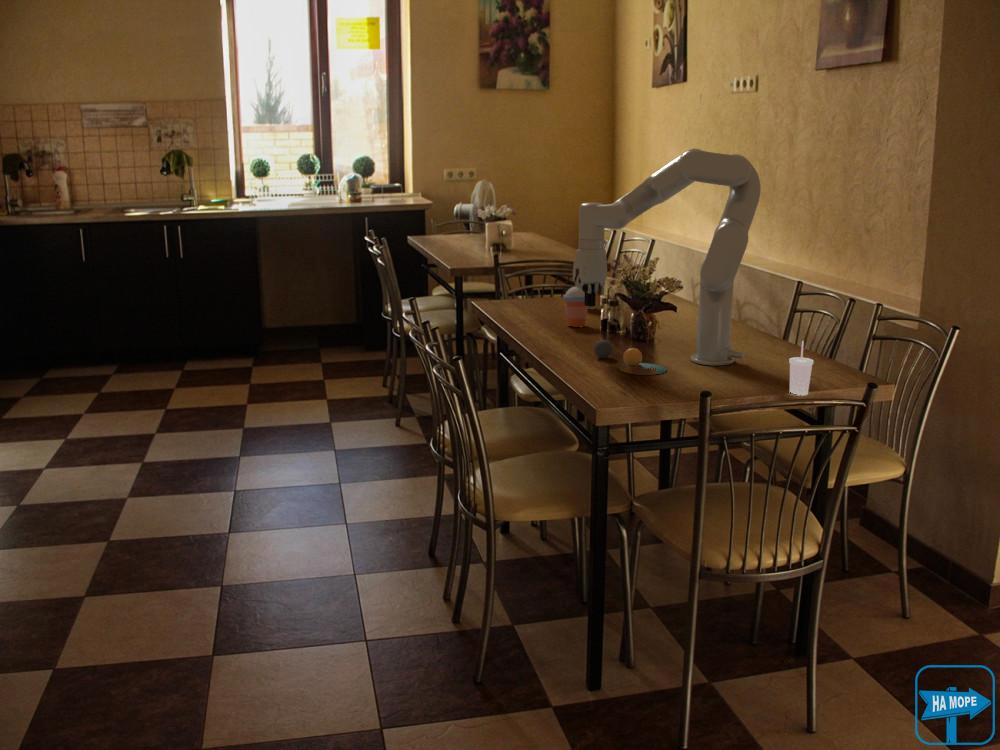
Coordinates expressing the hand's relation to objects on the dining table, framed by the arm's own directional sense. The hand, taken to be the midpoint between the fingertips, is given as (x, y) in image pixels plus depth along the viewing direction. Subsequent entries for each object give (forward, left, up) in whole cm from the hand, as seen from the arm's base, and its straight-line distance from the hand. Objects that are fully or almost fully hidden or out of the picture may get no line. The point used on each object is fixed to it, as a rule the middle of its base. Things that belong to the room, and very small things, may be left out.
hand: (589, 305), depth 293 cm
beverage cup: (-65, +17, -15) cm, 69 cm away
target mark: (-20, +11, -15) cm, 28 cm away
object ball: (-17, +8, -12) cm, 22 cm away
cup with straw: (+19, -38, -15) cm, 46 cm away
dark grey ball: (-5, +2, -12) cm, 14 cm away
